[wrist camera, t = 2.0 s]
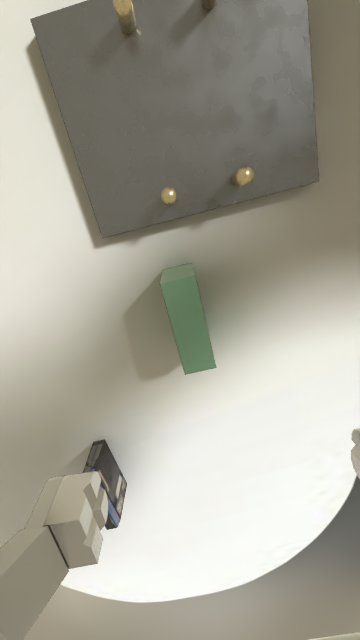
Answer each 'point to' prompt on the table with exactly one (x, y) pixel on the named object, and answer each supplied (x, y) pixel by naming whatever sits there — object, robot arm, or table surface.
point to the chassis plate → (182, 102)
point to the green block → (187, 318)
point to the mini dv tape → (108, 480)
